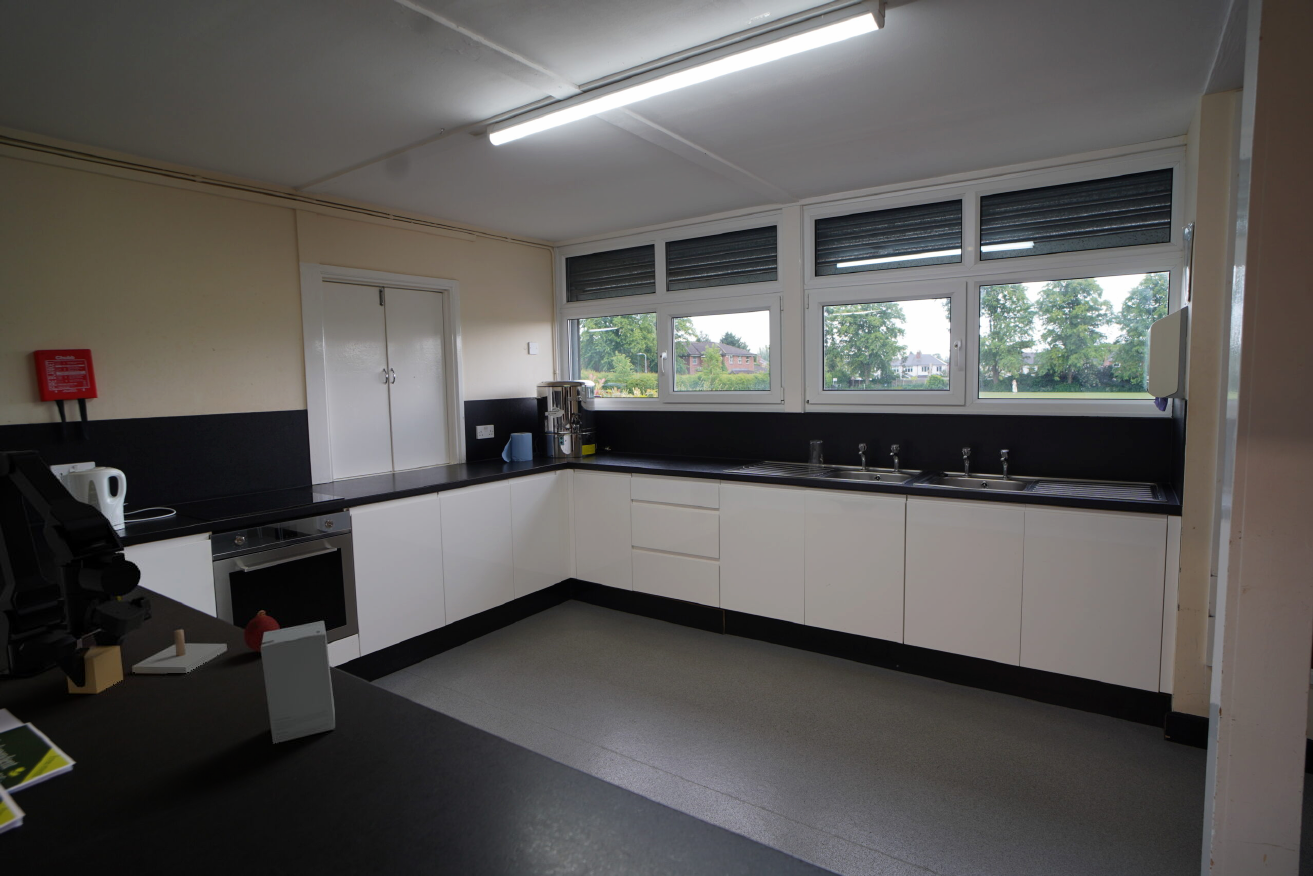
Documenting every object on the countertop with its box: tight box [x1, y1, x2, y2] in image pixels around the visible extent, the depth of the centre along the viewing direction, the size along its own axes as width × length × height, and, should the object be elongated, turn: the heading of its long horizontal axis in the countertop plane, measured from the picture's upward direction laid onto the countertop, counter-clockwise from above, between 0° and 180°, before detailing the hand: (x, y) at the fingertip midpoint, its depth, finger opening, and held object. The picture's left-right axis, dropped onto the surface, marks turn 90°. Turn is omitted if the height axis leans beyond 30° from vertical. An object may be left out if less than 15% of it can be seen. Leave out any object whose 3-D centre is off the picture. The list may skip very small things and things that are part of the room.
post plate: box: [131, 629, 228, 674], centre depth 123 cm, size 10×10×6 cm
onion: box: [243, 610, 281, 653], centre depth 126 cm, size 6×6×8 cm
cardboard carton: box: [66, 645, 124, 694], centre depth 114 cm, size 5×5×6 cm
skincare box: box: [260, 620, 336, 745], centre depth 98 cm, size 8×6×15 cm
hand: (95, 679), depth 114 cm, fingers open, 5 cm apart
